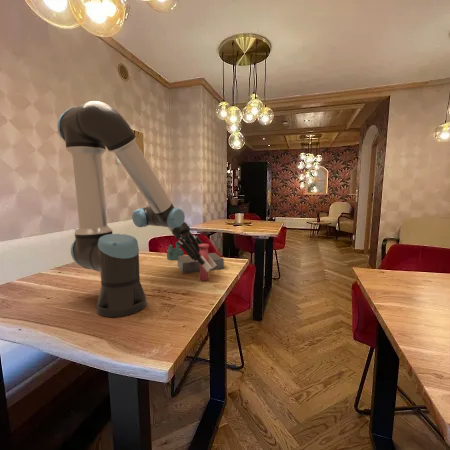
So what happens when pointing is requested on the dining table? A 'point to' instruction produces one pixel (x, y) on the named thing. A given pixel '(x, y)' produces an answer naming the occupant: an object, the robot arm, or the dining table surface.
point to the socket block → (194, 266)
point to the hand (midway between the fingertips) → (211, 268)
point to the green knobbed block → (174, 252)
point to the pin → (204, 252)
